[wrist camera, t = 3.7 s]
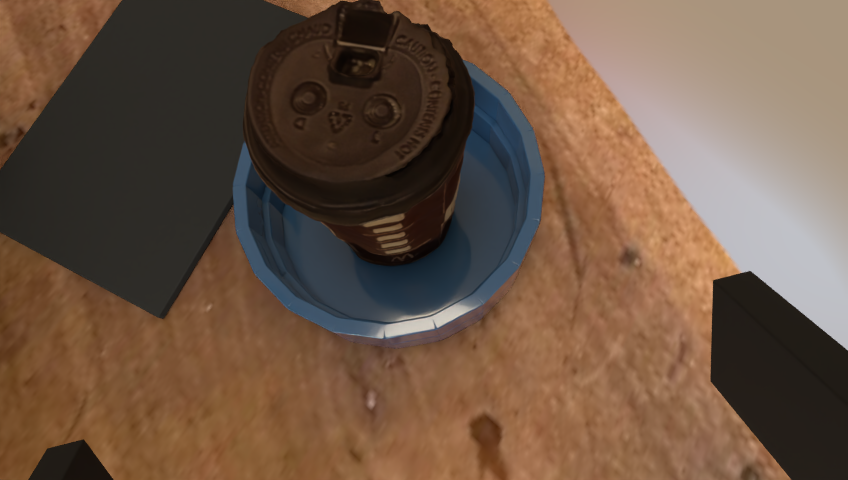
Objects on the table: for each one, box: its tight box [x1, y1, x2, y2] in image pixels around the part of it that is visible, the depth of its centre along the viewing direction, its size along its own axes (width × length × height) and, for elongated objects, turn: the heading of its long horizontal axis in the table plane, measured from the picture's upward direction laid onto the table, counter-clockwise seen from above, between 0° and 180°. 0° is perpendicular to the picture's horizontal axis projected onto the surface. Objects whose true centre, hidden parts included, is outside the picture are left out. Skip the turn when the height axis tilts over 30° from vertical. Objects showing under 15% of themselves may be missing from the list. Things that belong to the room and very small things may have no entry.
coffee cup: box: [243, 0, 475, 266], centre depth 25 cm, size 9×8×13 cm
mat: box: [0, 0, 308, 319], centre depth 34 cm, size 14×20×1 cm
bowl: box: [233, 60, 545, 348], centre depth 29 cm, size 15×15×5 cm
